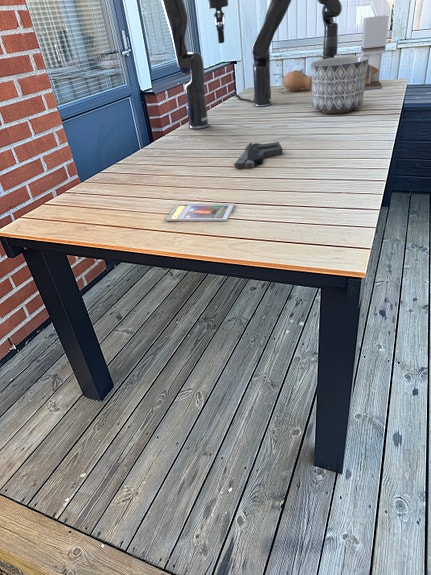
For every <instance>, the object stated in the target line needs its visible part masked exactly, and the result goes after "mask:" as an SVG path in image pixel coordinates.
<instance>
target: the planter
mask: <svg viewBox="0 0 431 575" xmlns="http://www.w3.org/2000/svg"><path fill="white" fill-rule="evenodd" d="M368 59H369V58H368V57H364V56H361V55H349V56H348V55H347V56H336V57H335V56H334V58H328V59H323V58H322V59H318V60H315V61H311V63H310V71H311V76H312V86H311V91H312V92H311V93H312V94H311V96H312V97H311V98H312V108H314V109H315V110H318V111H321V112H322V113H324V114H343V113H348V112H350V111H353V109H356V108H358V107H360V106H361V105H362V104H363V99H364V93H365V89H364V87H365V80H366V73H367V66H368Z"/></svg>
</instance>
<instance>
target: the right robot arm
mask: <svg viewBox="0 0 431 575" xmlns="http://www.w3.org/2000/svg"><path fill="white" fill-rule="evenodd" d="M291 2H292V0H270V3H269V6H268V9H267V11H266V13H265V17H264V20H263V23H262V25H261V28H260V30H259V32H258V34H257V36H256V37H255V40H254V41H253V43H252V45H251V53H252V73H253V74H252V75H253V89H254V90H253V92H254V94H253V100H251V99H249V98H243V97H241V96H240V95H239V94H237V93H233V94H232V95H231V97H232V98H234V97H237V99H238V100H240V101H247V102H249V103H254V106H255V107H257V108H262V107H268V106H270V105H272V91H271V90H272V87H271V53H270V52H271V50H270V47H271V44H272V42H273V38H274V36H275V34H276V32H277V30H278V29H279V27H280V25H281V23H282V21H283V20H284V18H285V16H286V14H287V12H288V9H289V7H290V5H291V4H292V3H291ZM317 2H318V3H319V4H320V5H323V6H322V8H321V17H322V22H323V27H324V31H323V45H322V59H328V58H335V56H337V55H338V44H339V43H338V42H339V38H338V34H339V33H338V32H339V25H338V22H335V21H334V20H335V19H334V18H337V17H339V16H340V15H341V13H342V10H343V9H342V8H343V7H342V3H341V1H340V0H317Z"/></svg>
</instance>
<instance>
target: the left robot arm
mask: <svg viewBox="0 0 431 575" xmlns="http://www.w3.org/2000/svg"><path fill="white" fill-rule="evenodd" d="M161 3H162V7H163V9H164V14H165V18H166V21H167V24H168V28H169V31H170V35H171V39H172V43H173V49H174V52H175V58H176V63H177V67H178V70H179V72H180V73H181V74H182V75H184V76H190V81H189V82H187V83H186V84H185V85H184V91H185V96H186V98H185V99H186V106H187V107H186V111H187V119H188V125H189V128H190V129H191V130H200V129H206V128H208V127H209V126H210V125H209V124H210V123H209V119H208V111H207V100H206V92H205V67H204V59H203V57H202V55H201V53H199V52H196V51H195V52H188V49H187V43H186V36H187V35H186V34H187V30H188V25H189V17H188V12H187V8H186V4H185V2H184V0H161ZM207 4H208V6H207V7H208V9H215V12H214V14H213V17H214V25H215V27H216V32H217V38H218V40H217V41H218V44H224V43H225V34H224V32H225V12H224V11H223V8H224V7H228V6H229V0H207Z"/></svg>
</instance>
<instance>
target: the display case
mask: <svg viewBox="0 0 431 575" xmlns="http://www.w3.org/2000/svg"><path fill="white" fill-rule="evenodd" d="M362 21H363V22H362V33H361V35H362V36H361V45H360V46H361V48H360V56H364V57H368V58H369V59H368V66H367V73H366V80H365V87H364V90H373V89H382V86H383V85H382V83H381V82H380V75H381V64H382V55H383V54H385V53H386V46H387V37H388V36H387V35H388V27H389V26H388V25H389V15H386V14H385V15H375V16H368V17H363V20H362Z"/></svg>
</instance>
